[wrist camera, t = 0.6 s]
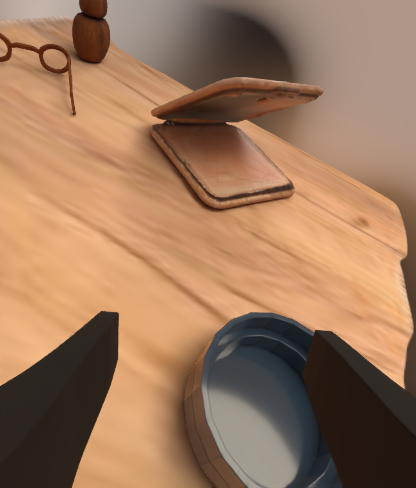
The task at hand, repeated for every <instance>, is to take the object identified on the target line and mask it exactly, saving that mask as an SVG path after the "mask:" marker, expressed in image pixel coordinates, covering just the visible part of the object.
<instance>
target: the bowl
mask: <svg viewBox="0 0 416 488" xmlns="http://www.w3.org/2000/svg"><path fill="white" fill-rule="evenodd" d="M313 336H314V332H313V331H311V330H310V329H308V328H306V327H305V326H303V325H302V324H300V323H298V322H297V321H295V320H293V319H290V318H287V317H284V316H281V315H278V314H275V313H258V312H252V313H248V314H245V315H243V316H240V317H237V318H234V319H232V320H231V321H229V322H228V323H227V324H226V325H225V326H224V327H223V328H222V329H220V330H219V331H218V332H217V333H216V334H215V335H214V337H213V338H212V339H211V340H210V342H209V343H208V344H207V346H206V347H205V348H204V349H203V351H202V352H201V353H200V354H199V356H198V358H197V360H196V362H195V364H194V365H193V367H192V369H191V371H190V373H189V375H188V379H187V385H186V391H185V397H184V413H185V422H186V431H187V436H188V438H189V441H190V443H191V446H192V448H193V451H194V453H195V456H196V459H197V461H198V464H199V466H200V467H201V469H202V470H203V471H204V473H205V474H206V475H207V477H208V478H209V479H210V480H211V482H212V483H213V484H214V486H215V487H216V488H343V487H342V484H341V481H340V478H339V475H338V472H337V469H336V467H335V464H334V461H333V459H332V456H331V454H330V451H329V449H328V446H327V444H326V441H325V439H324V436H323V434H322V431H321V429H320V426H319V424H318V421H317V418H316V416H315V413H314V411H313V408H312V405H311V403H310V400H309V396H308V393H307V389H306V385H305V381H304V376H303V370H304V367H305V364H306V360H307V357H308V353H309V350H310V347H311V343H312V340H313Z"/></svg>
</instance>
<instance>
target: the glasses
mask: <svg viewBox="0 0 416 488" xmlns="http://www.w3.org/2000/svg"><path fill="white" fill-rule="evenodd" d="M0 38H1V39H2V40H3V41H4V42H5V43H6V45H7V48H8V52H7V54H6V55H5V56H3V57H0V62H4V61H7V60H9V59H10V57H11V53H12V48H15V47H17V48H22V49H26V50H31V51H34V52H36V53H38V54H39V58H40V62H41V64H42V66H43V67H44V68H45V69H47V70H48V71H50V72H53V73H58V74H61V73H65V72H67V71H68V73H69V84H70V97H71V104H72V110H73V115H76V112H75V106H74V99H73V93H72V75H71V59H70V56H69V54H68V52H67V51H66V50H65V49H64V48H62V47H60V46H58V45H55V44H46V45H44V46H42V47H40V49H37V48H36V47H34V46H31V45H26V44H22V43H11V42H10V41H9V40H8V39H7V38H6V37H5V36H4V35H3V34H1V33H0ZM48 49H56V50H59V51H61V52H62V53H63V54H64V55H65V56H66V58H67V65H66V66H65V67H64V68H63V69H54V68H51V67H49V66H48V65H47V64H46V63H45V62H44V59H43V53H44V51H46V50H48Z"/></svg>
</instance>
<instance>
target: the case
mask: <svg viewBox="0 0 416 488" xmlns="http://www.w3.org/2000/svg"><path fill="white" fill-rule="evenodd" d="M323 91H324V90H323V88H321V87H318V86H312V85H304V84H295V83H288V82H280V81H273V80H265V79H256V78H246V77H238V78H229V79H224V80H221V81H218V82H215V83H213V84H211V85H209V86H206V87H204V88H201V89H199V90H197V91H194V92H192V93H190V94H187V95H185V96H183V97H180V98H178V99H176V100H174V101H171V102H169V103H166V104H164V105H162V106H160V107H157V108H155V109H153V110H152V111H151V114H152V115H153V116H154V117H157V118H159V119H162V120H167V121H165V122H164V123H162V124H155V125H153V126H152V127H151V129H150V133H151V135H152V136H153V138H154V139H155V140H156V142H157V143H158V144H159V145H160V147H161V148H162V149H163V150H164V152H165V153H166V154H167V156H168V157H169V158H170V159H171V161H172V162H173V163H174V164H175V166H176V167H177V168H178V170H179V171H180V172H181V174H182V175H183V176H184V178H185V179H186V180H187V181H188V183H189V184H190V186H191V187H192V188H193V190H194V191H195V192H196V193H197V195H198V196H199V197H200V199H201V200H202V201H203V202H204V203H205V204H207V205H208V206H210V207H213V208H219V209H223V208H230V207H235V206H240V205H245V204H250V203H255V202H261V201H267V200H273V199H278V198H284V197H289V196H292V195H293V194H294V192H295V188H294V186H293V184H292V182H291V181H290V180H289V178H288V177H287V176H286V175H285V174H284V173H283V172H282V171H281V170H280V169H279V168H278V167H277V166H276V165H275V164H274V163H273V162H272V161H271V160H270V159H269V158H268V157H267V156H266V155H265V153H264V152H263V151H262V150H261V149H260V148H259V147H258V146H257V145H256V144H255V143H254V142H253V141H252V140H251V139H250V138H249V137H248V136H247V135H246V134H245V133H244V132H243V131H242V130H241V129H239V128H237V127H235V126H232V125H229V124H226V123H225V122H240V121H243V120H247V119H250V118H254V117H258V116H262V115H264V114H268V113H271V112H275V111H279V110H282V109H286V108H289V107H292V106H296V105H299V104H304V103H309V102H311V101H313V100H315V99H317V98H318V96H320V95H322V94H323Z"/></svg>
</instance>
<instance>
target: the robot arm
mask: <svg viewBox="0 0 416 488" xmlns="http://www.w3.org/2000/svg"><path fill="white" fill-rule="evenodd" d="M118 326H119V313H117V312H106V311H101V312H100V313H98V314H97V315H96V316H95V317H94V318H92V319H91V320H90V321H89V322H88V323H87V324H85V325H84V326H83V327H82V328H81V329H80V330H78V331H77V332H76V333H75V334H74V335H72V336H71V337H70V338H69V339H67V340H66V341H65V342H64V343H62V344H61V345H60V346H59V347H57V348H56V349H55V350H53V351H52V352H51V353H49V354H48V355H47V356H45V357H44V358H43V359H41V360H40V361H38V362H37V363H36V364H34V365H33V366H31V367H30V368H29V369H27V370H25V371H24V372H22V373H21V374H19V375H18V376H16V377H14V378H13V379H11V380H10V381H8V382H6V383H5V384H3V385H1V386H0V488H72V485H73V482H74V479H75V475H76V472H77V469H78V466H79V463H80V460H81V458H82V455H83V452H84V449H85V447H86V445H87V442H88V440H89V437H90V435H91V432H92V430H93V427H94V425H95V423H96V420H97V418H98V415H99V413H100V410H101V408H102V405H103V403H104V401H105V398H106V396H107V393H108V391H109V388H110V386H111V382H112V379H113V375H114V372H115V368H116V364H117V360H118ZM303 376H304V381H305V385H306V389H307V393H308V396H309V400H310V403H311V405H312V408H313V411H314V413H315V416H316V418H317V421H318V424H319V426H320V429H321V431H322V434H323V436H324V439H325V441H326V444H327V446H328V449H329V451H330V454H331V456H332V459H333V461H334V464H335V467H336V469H337V472H338V475H339V478H340V481H341V484H342V487H343V488H416V397H414V396H413V395H411V394H410V393H408V392H407V391H406V390H405V389H403V388H402V387H401V386H399V385H398V384H397V383H395V382H394V381H393V380H391V379H390V378H389V377H388V376H386V375H385V374H384V373H382V372H381V371H380V370H379V369H377V368H376V367H375V366H374V365H373V364H371V363H370V362H369V361H368V360H366V359H365V358H364V357H363V356H362V355H360V354H359V353H358V352H357V351H356V350H354V349H353V348H352V347H351V346H350V345H348V344H347V343H346V342H345V341H343V340H342V339H341V338H340V337H338V336H337V335H336V334H334V333H333V332H332V331H322V330H315V333H314V336H313V340H312V343H311V347H310V350H309V353H308V357H307V360H306V364H305V367H304V370H303Z"/></svg>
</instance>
